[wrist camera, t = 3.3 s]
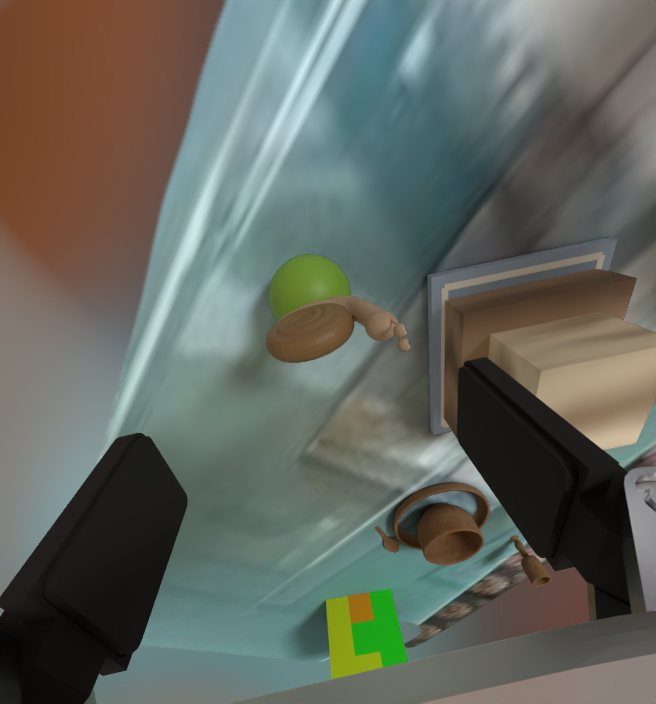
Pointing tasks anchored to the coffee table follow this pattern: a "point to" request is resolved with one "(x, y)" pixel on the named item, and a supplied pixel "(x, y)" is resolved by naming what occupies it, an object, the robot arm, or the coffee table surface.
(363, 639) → the puzzle toy
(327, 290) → the snail figurine
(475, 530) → the place setting
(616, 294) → the plinth
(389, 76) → the coffee table surface
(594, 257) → the blueprint board
